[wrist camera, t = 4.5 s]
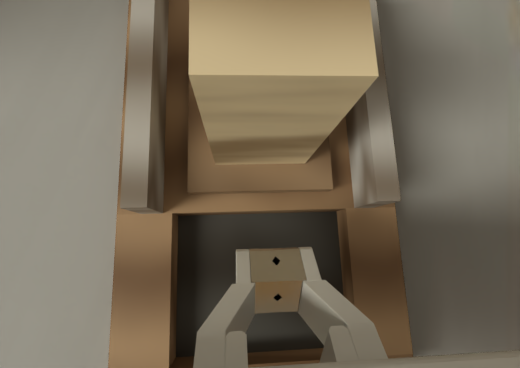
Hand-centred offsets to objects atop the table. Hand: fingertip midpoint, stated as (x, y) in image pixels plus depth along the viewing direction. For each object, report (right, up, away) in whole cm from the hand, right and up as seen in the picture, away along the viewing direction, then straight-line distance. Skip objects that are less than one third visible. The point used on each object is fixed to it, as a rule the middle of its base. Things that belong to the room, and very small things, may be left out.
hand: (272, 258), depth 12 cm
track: (-1, +10, +9) cm, 13 cm away
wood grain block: (-1, +6, +6) cm, 9 cm away
